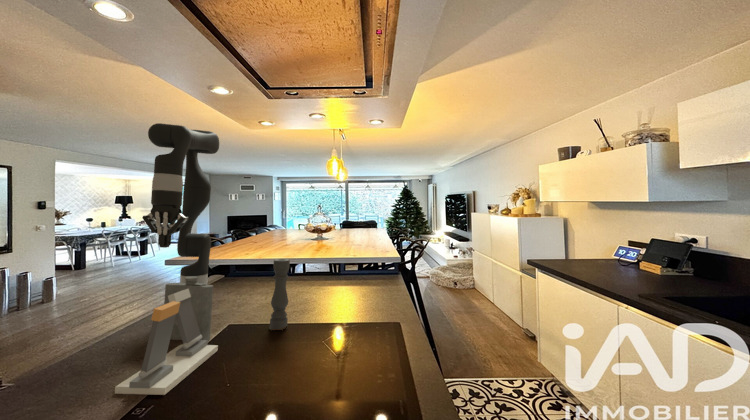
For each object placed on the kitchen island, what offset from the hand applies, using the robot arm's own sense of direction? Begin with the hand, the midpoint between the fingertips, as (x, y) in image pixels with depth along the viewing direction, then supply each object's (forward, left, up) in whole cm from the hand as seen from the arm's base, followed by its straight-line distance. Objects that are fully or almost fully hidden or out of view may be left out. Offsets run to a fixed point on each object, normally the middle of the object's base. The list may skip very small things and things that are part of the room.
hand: (164, 247), depth 85 cm
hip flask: (-2, +9, -31) cm, 32 cm away
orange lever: (+19, -9, -27) cm, 34 cm away
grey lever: (+11, +4, -27) cm, 29 cm away
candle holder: (+15, +32, -31) cm, 47 cm away
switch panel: (+15, -3, -31) cm, 34 cm away
